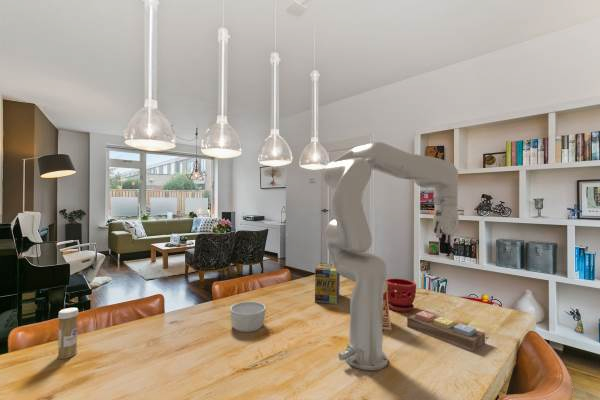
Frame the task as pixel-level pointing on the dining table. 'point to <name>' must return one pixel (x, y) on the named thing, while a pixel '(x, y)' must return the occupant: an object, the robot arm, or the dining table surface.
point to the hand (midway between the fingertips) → (444, 253)
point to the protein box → (326, 284)
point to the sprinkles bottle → (67, 332)
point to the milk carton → (386, 309)
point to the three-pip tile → (425, 316)
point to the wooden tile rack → (447, 334)
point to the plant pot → (401, 294)
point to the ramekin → (247, 316)
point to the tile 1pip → (464, 330)
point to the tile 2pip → (443, 323)
